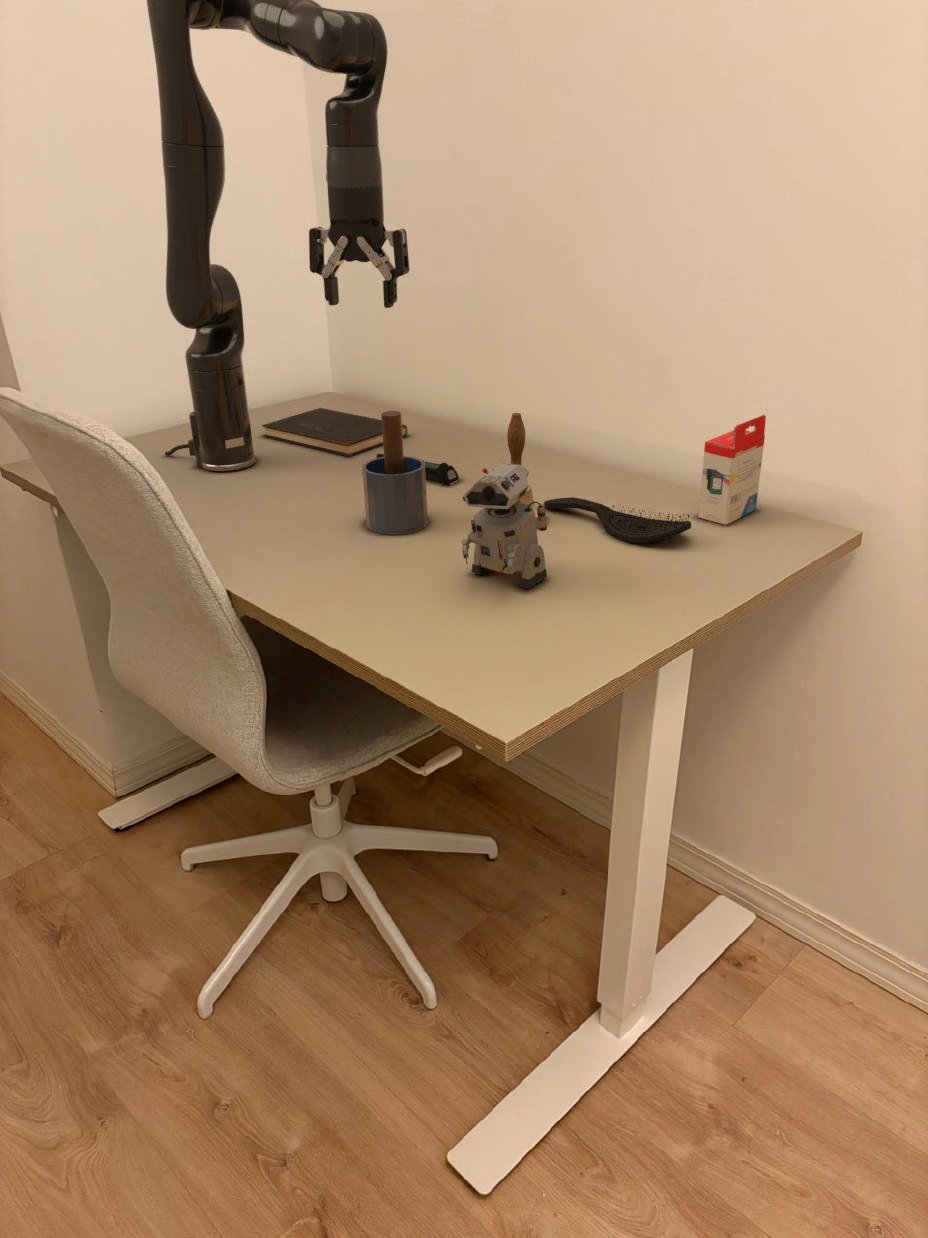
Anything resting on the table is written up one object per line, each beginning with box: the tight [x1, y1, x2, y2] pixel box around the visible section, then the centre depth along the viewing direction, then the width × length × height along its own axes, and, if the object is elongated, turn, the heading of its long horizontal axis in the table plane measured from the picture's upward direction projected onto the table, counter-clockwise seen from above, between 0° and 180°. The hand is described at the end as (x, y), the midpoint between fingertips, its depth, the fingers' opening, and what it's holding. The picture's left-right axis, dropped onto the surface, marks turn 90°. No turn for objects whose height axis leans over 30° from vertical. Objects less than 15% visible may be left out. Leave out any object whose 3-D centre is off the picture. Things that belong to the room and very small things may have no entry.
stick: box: [380, 410, 405, 474], centre depth 140 cm, size 3×3×16 cm
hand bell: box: [506, 412, 538, 517], centre depth 140 cm, size 8×8×16 cm
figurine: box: [460, 463, 548, 590], centre depth 121 cm, size 9×12×15 cm
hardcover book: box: [261, 407, 408, 458], centre depth 185 cm, size 16×23×2 cm
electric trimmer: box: [375, 453, 460, 486], centre depth 163 cm, size 4×16×3 cm, turn 57°
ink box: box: [698, 414, 767, 526], centre depth 141 cm, size 8×5×15 cm, turn 135°
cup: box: [361, 455, 428, 536], centre depth 142 cm, size 9×9×9 cm
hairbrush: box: [543, 496, 692, 544], centre depth 141 cm, size 8×4×25 cm
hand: (361, 305), depth 140 cm, fingers open, 8 cm apart
